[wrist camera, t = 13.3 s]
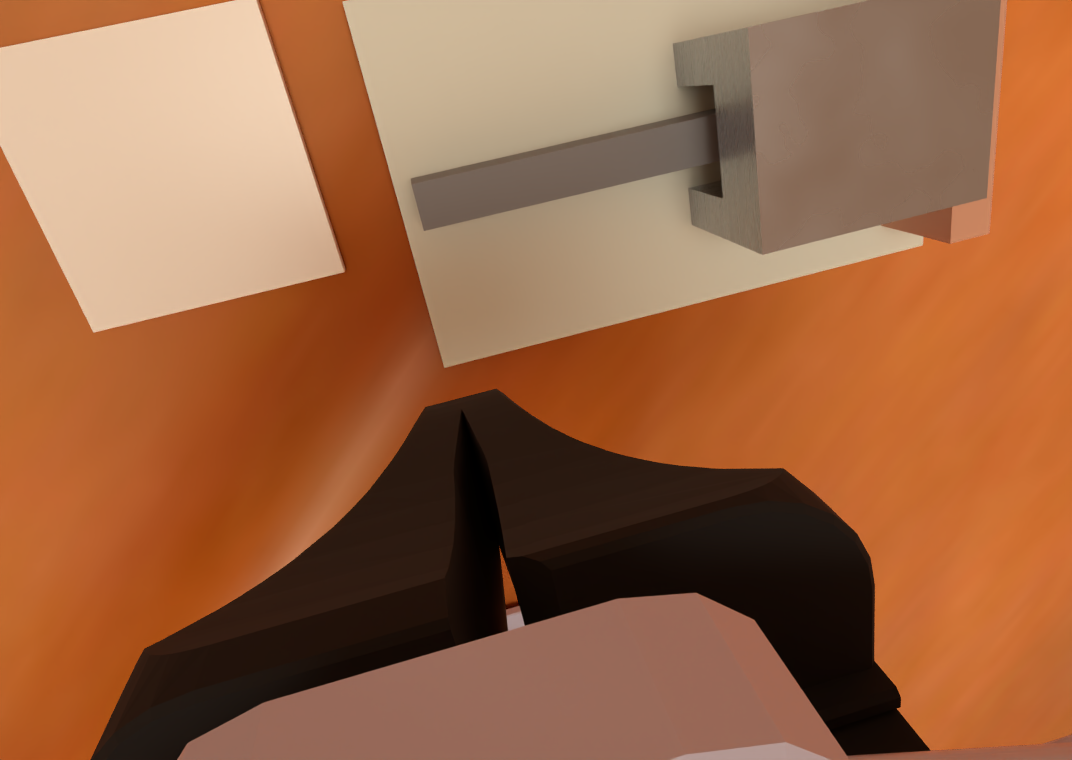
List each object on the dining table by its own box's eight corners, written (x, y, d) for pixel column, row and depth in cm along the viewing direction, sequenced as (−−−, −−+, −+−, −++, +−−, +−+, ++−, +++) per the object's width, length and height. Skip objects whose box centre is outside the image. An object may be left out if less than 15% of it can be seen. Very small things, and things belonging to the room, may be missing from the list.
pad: (345, 269, 20) (344, 272, 19) (99, 328, 19) (93, 332, 19) (258, -2, 17) (255, -5, 16) (-35, 57, 16) (-45, 56, 16)
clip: (875, 179, 21) (986, 198, 17) (691, 225, 20) (762, 254, 16) (875, -2, 19) (1003, -30, 15) (672, 43, 18) (747, 27, 14)
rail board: (910, 241, 23) (996, 265, 19) (443, 360, 21) (450, 408, 18) (920, -114, 19) (1030, -160, 15) (344, 4, 17) (330, -19, 14)
